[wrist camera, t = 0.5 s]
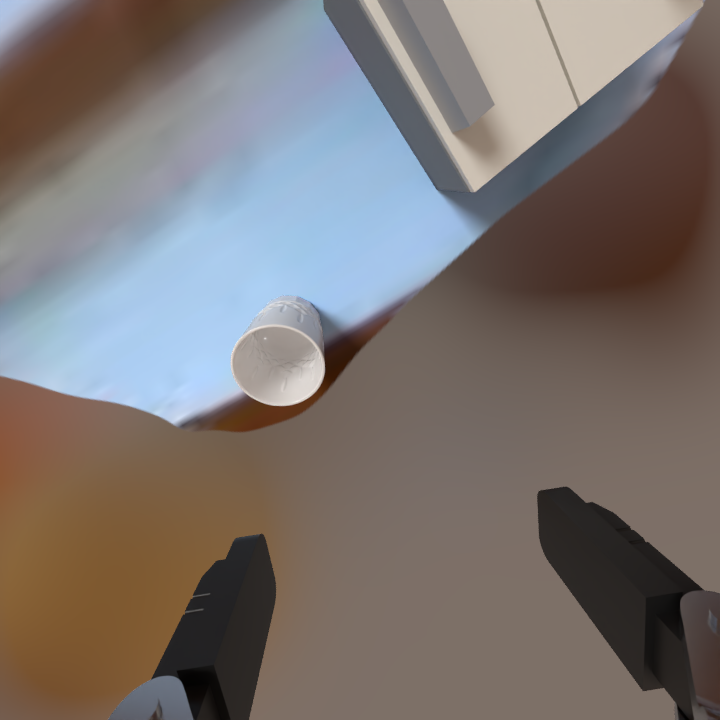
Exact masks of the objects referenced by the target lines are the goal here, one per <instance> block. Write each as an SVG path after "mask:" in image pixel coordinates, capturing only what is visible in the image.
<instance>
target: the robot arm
mask: <svg viewBox="0 0 720 720" xmlns="http://www.w3.org/2000/svg"><path fill="white" fill-rule="evenodd" d="M537 499H538V500H537V502H538V523H539V539H540V543H541V546H542V549H543V552H544V554H545V556H546V558H547V560H548V561H549V563H550V564H551V566H552V567H553V568H554V570H555V571H556V572H557V574H558V575H559V576H560V578H561V579H562V581H563V582H564V583H565V585H566V586H567V587H568V589H569V590H570V592H571V593H572V594H573V596H574V597H575V598H576V600H577V601H578V602H579V604H580V605H581V607H582V608H583V609H584V611H585V612H586V613H587V615H588V616H589V618H590V619H591V620H592V622H593V623H594V624H595V626H596V627H597V629H598V630H599V631H600V633H601V634H602V635H603V637H604V638H605V640H606V641H607V642H608V643H609V645H610V646H611V648H612V649H613V651H614V652H615V653H616V655H617V656H618V657H619V659H620V660H621V661H622V663H623V664H624V666H625V667H626V668H627V670H628V671H629V672H630V674H631V675H632V676H633V678H634V679H635V681H636V682H637V683H638V685H639V686H640V687H641V689H642V690H643V691H647V690H653V689H660V688H665V690H666V691H667V692H668V693H669V694H670V696H671V697H672V698H673V700H674V701H675V703H674V715H675V720H720V593H717V592H712V591H705V590H703V589H702V588H701V587H700V586H699V585H698V584H696V583H695V582H694V581H693V580H691V579H690V578H689V577H688V576H687V575H686V574H685V573H683V572H682V571H681V570H680V569H679V568H678V567H676V566H675V565H674V564H673V563H672V562H671V561H669V560H668V559H667V558H666V557H665V556H663V555H662V554H661V553H660V552H659V551H658V550H657V549H655V548H654V547H653V546H652V545H651V544H650V543H648V542H645V540H644V539H643V537H641V536H640V535H639V534H638V533H637V532H635V531H634V530H631V528H630V526H628V525H627V524H626V523H625V522H624V521H623V520H621V519H620V518H619V517H618V516H617V515H616V514H614V513H613V512H611V511H609V510H607V509H605V508H603V507H601V506H599V505H597V504H595V503H593V502H590V503H585V502H584V501H583V500H582V499H581V498H580V497H579V496H578V495H577V494H576V493H574V492H573V491H572V490H571V489H570V488H568V487H560V488H554V489H548V490H541V491H539V492H538V496H537ZM275 598H276V582H275V576H274V572H273V568H272V564H271V560H270V555H269V552H268V547H267V543H266V540H265V537H264V535H263V534H258V535H252V536H245V537H239V538H236V539H235V540H234V542H233V544H232V546H231V548H230V550H229V553H228V555H227V557H226V559H225V560H218V561H216V562H215V563H214V564H213V565H212V567H211V568H210V569H209V570H208V571H207V572H206V573H205V574H204V575H203V577H202V578H201V580H200V582H199V584H198V586H197V588H196V590H195V592H194V594H193V599H191V600H190V602H189V604H188V606H187V608H186V610H185V615H183V616H182V618H181V621H180V622H179V624H178V626H177V628H176V630H175V632H174V634H173V637H172V638H171V640H170V642H169V645H168V647H167V648H166V650H165V652H164V655H163V657H162V659H161V661H160V663H159V665H158V667H157V669H156V671H155V673H154V675H153V677H152V679H151V680H150V681H148V682H146V683H144V684H142V685H141V686H139V687H138V688H136V689H135V690H134V691H133V692H131V693H130V694H129V695H128V696H127V697H126V698H125V699H124V700H123V701H122V702H121V703H120V704H119V705H118V706H117V708H116V709H115V710H114V712H113V713H112V714H111V716H110V718H109V719H108V720H249V716H250V712H251V707H252V703H253V699H254V694H255V690H256V685H257V681H258V676H259V671H260V668H261V663H262V658H263V654H264V649H265V645H266V641H267V636H268V632H269V627H270V623H271V619H272V614H273V610H274V605H275Z"/></svg>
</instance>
